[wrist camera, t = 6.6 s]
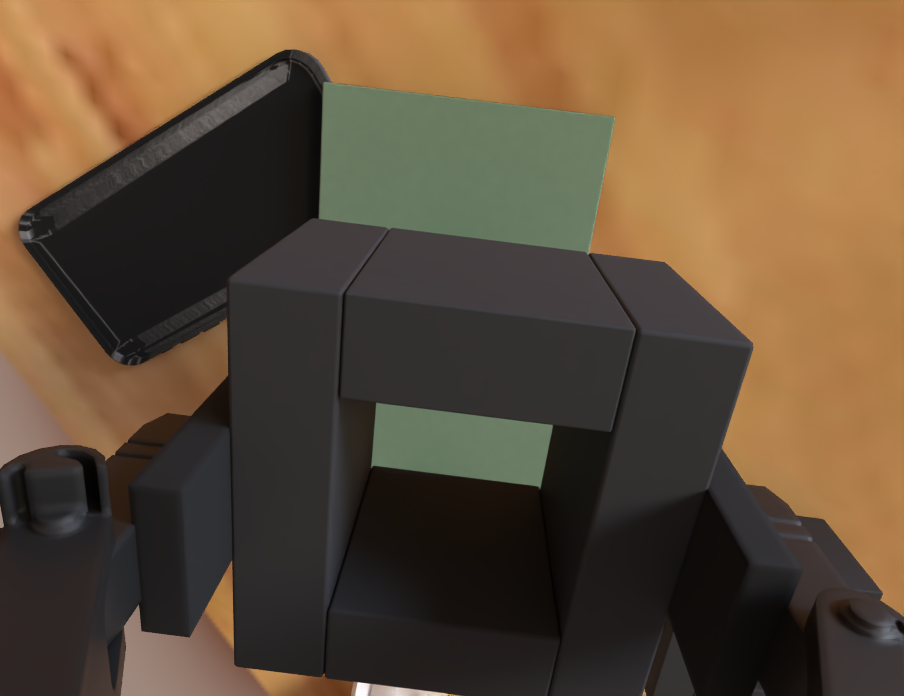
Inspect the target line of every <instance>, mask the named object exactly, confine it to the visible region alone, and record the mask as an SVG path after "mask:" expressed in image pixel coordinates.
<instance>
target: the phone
mask: <svg viewBox="0 0 904 696" xmlns="http://www.w3.org/2000/svg"><path fill="white" fill-rule="evenodd" d="M324 82H328V83H332V81H331V79H330V78H329V76H328V74H327V72H326V70H325V68H324V67H323V66H322V64H321V63H320V62H319V60H318V59H316V58H315V57H314V56H312V55H311V54H309V53H306V52H303V51H299V50H284V51H282V52H279V53H277V54H275V55H274V56H272V57H270V58H269V59H267V60H266V61H264V62H262V63H261V64H259V65H258V66H256V67H254V68H253V69H251V70H250V71H248V72H247V73H245V74H243V75H242V76H240V77H239V78H237V79H235V80H234V81H232V82H231V83H229V84H227V85H226V86H224V87H223V88H221V89H220V90H218V91H216V92H215V93H213V94H212V95H210V96H208V97H207V98H205V99H204V100H202V101H200V102H199V103H197V104H196V105H194V106H192V107H191V108H189V109H188V110H186V111H185V112H183V113H181V114H180V115H178V116H177V117H175V118H173V119H172V120H170V121H169V122H167V123H165V124H164V125H162V126H161V127H159V128H158V129H156V130H154V131H153V132H151V133H150V134H148V135H146V136H145V137H143V138H142V139H140V140H138V141H137V142H135V143H134V144H132V145H130V146H129V147H127V148H126V149H124V150H123V151H121V152H119V153H118V154H116V155H115V156H113V157H111V158H110V159H108V160H107V161H105V162H103V163H102V164H100V165H99V166H97V167H95V168H94V169H92V170H91V171H89V172H88V173H86V174H84V175H83V176H81V177H80V178H78V179H76V180H75V181H73V182H72V183H70V184H68V185H67V186H65V187H64V188H62V189H61V190H59V191H57V192H56V193H54V194H53V195H51V196H49V197H48V198H46V199H45V200H43V201H41V202H40V203H38V204H37V205H35V206H33V207H32V208H30V209H29V210H27V211H26V212H25V213H24V214H23V215H22V217H21V219H20V221H19V235H20V238H21V241H22V242H23V244H24V246H25V247H26V249H27V250H28V251H29V253H30V254H31V255H32V257H33V258H34V259H35V260H36V262H37V263H38V264H39V266H40V267H41V268H42V270H43V271H44V272H45V273H46V275H47V276H48V277H49V279H50V280H51V281H52V283H53V284H54V285H55V287H56V288H57V289H58V290H59V292H60V293H61V294H62V296H63V297H64V298H65V300H66V301H67V302H68V303H69V305H70V306H71V307H72V309H73V310H74V311H75V313H76V314H77V315H78V316H79V318H80V319H81V320H82V322H83V323H84V324H85V326H86V327H87V328H88V330H89V331H90V332H91V333H92V335H93V336H94V337H95V339H96V340H97V341H98V343H99V344H100V345H101V346H102V348H103V349H104V350H105V352H106V353H107V354H108V355H109V356H110V357H111V358H112V359H114V360H115V361H117V362H119V363H121V364H124V365H138V364H141V363H143V362H145V361H147V360H149V359H151V358H153V357H155V356H157V355H159V354H160V353H164V352H166V351H168V350H170V349H171V348H173V347H174V346H175V345H177V344H179V343H184V342H185V341H187V340H189V339H191V338H193V337H195V336H197V335H198V334H200V332H202V331H203V332H205V331H207V330H209V329H211V328H213V327H215V326H217V325H218V324H220V322H221V321H223V320H224V319H226V318H227V279H228V277H229V276H231V275H232V274H233V273H235V272H236V271H238V270H239V269H241V268H242V267H243V266H245V265H246V264H248V263H249V262H250V261H252V260H253V259H255V258H256V257H258V256H259V255H260V254H262V253H263V252H265V251H266V250H267V249H269V248H270V247H272V246H273V245H275V244H276V243H277V242H279V241H280V240H282V239H283V238H284V237H286V236H287V235H289V234H290V233H292V232H293V231H294V230H296V229H297V228H299V227H300V226H302V225H303V224H304V223H306V222H307V221H309V220H310V219H313V218H316V219H319V191H320V159H321V127H322V95H323V83H324Z"/></svg>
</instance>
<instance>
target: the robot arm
mask: <svg viewBox="0 0 904 696" xmlns="http://www.w3.org/2000/svg"><path fill="white" fill-rule="evenodd" d="M0 506H1V512H2V517H3V523H4V527H3V528H0V696H120V694H121V686H122V677H123V668H124V660H125V650H126V643H125V634H124V625H125V624H126V622H127V621H128V619H129V618H130V616H131V615H132V613H133V612H134V610H135V609H136V607H137V606H138V605H139V608H140V619H141V630H142V631H144V632H152V633H160V634H167V635H175V636H184V637H190V636H191V634H192V632H193V630H194V628H195V627H196V625H197V623H198V621H199V619H200V617H201V616H202V614H203V612H204V610H205V608H206V606H207V605H208V603H209V601H210V599H211V597H212V595H213V594H214V592H215V590H216V588H217V586H218V584H219V583H220V581H221V579H222V577H223V575H224V573H225V572H226V570H227V568H228V566H229V564H230V562H231V561H232V559H233V556H232V507H231V458H230V425H229V377H228V376H227V377H226V379H225V380H224V381H223V382H222V383H221V384H220V385H219V386H218V387H217V388H216V389H215V391H214V392H213V393H212V394H211V395H210V396H209V397H208V398H207V399H206V400H205V401H204V402H203V404H202V405H201V406H200V407H199V408H198V409H197V410H196V411H195V412H194V413H193V414H192V416H186V415H178V414H170V413H167V414H165V415H163V416H161V417H159V418H157V419H155V420H153V421H151V422H149V423H146V424H144V425H143V426H142V427H141V428H140V429H139V430H138V431H137V432H136V433H135V434H134V435H133V436H132V437H131V438H130V439H129V440H128V443H124V444H123V445H122V446H121V447H120V448H119V449H118V450H117V451H116V454H115V455H112V456H111V457H110V458H109V459H108V460H107V461H105V456H104V455H102V454H101V453H100V452H98V451H97V450H96V449H92V448H88V447H84V446H80V445H59V446H54V447H48V448H41V449H37V450H34V451H31V452H29V453H26V454H23V455H20V456H18V457H16V458H15V459H13V460H11V461H10V462H8V463H6V464H4V465H3V467H2V468H1V469H0ZM812 539H813V538H812V536H811V535H810V534H809V532H808V531H807V530H806V528H805V527H804V526H801V522H800V520H799V519H798V518H797V516H796V515H795V514H794V512H793V511H792V509H791V508H790V507H789V505H788V504H787V503H785V502H784V501H783V500H782V499H780V498H779V497H778V496H776V495H775V494H774V493H773V492H771V491H770V490H769V489H767V488H766V487H763V486H755V485H747V484H745V482H744V481H743V479H742V478H741V476H740V475H739V474H738V472H737V471H736V469H735V468H734V466H733V465H732V463H731V462H730V460H729V459H728V457H727V456H726V454H725V453H724V451H723V450H722V448H721V451H720V454H719V457H718V460H717V463H716V466H715V470H714V473H713V476H712V479H711V482H710V485H709V488H708V489H707V491H706V495H705V498H704V501H703V504H702V507H701V510H700V513H699V517H698V520H697V523H696V526H695V529H694V532H693V535H692V538H691V542H690V545H689V548H688V551H687V554H686V557H685V560H684V563H683V567H682V570H681V573H680V576H679V579H678V582H677V585H676V588H675V592H674V595H673V598H672V601H671V604H670V607H669V610H668V617H669V620H670V623H671V626H672V628H673V631H674V634H675V637H676V640H677V643H678V646H679V648H680V651H681V654H682V657H683V660H684V663H685V666H686V668H687V671H688V674H689V677H690V680H691V683H692V685H693V688H694V691H695V694H696V696H752V694H753V691H754V689H755V687H756V684H757V682H758V680H759V682H760V684H761V687H762V689H763V691H764V693H765V695H766V696H904V617H903V616H902V615H901V614H900V613H898V612H897V611H895V610H894V609H892V608H891V607H889V606H888V605H886V604H885V603H883V602H882V601H880V600H878V599H875V598H873V597H871V596H869V595H867V594H865V593H862V592H859V591H855V590H851V589H850V588H849V586H848V585H847V584H846V582H845V581H844V580H843V578H842V577H841V576H840V574H839V573H838V572H837V570H836V569H835V568H834V566H833V565H832V563H831V562H830V561H829V559H828V558H827V557H826V555H825V554H824V553H823V551H822V550H821V549H820V547H819V546H818V545H817V543H816V542H813V541H812Z"/></svg>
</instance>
